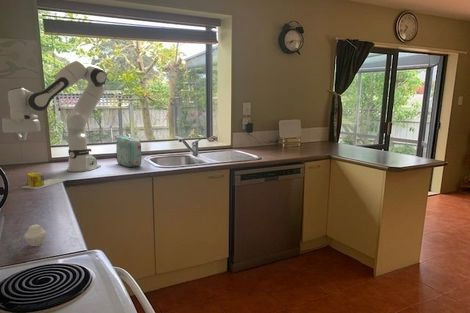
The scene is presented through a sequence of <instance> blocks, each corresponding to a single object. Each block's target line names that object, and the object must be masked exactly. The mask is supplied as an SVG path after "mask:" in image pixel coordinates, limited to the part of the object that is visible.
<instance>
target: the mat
mask: <svg viewBox="0 0 470 313" xmlns="http://www.w3.org/2000/svg"><path fill="white" fill-rule="evenodd" d="M63 182H66V180H64V179H56V178H55V179H54V178H49V179H46V180H45V179H44V185H43V186H36V187H32V186H31V185H29V184H27V185H24V186H20V188H21V189H28V190H29V189H31V190H39V189H42V188H46V187H49V186H53V185H57V184H60V183H63Z"/></svg>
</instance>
